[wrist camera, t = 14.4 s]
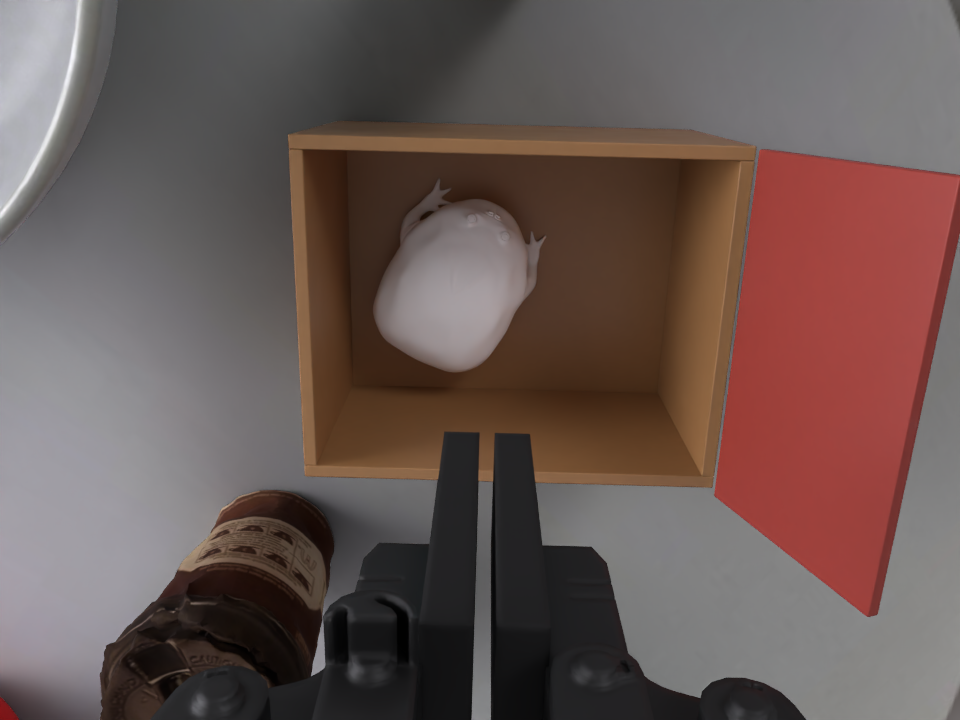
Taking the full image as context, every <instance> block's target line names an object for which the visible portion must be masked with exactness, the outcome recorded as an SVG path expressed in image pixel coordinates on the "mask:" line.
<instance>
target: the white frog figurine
mask: <svg viewBox="0 0 960 720" xmlns="http://www.w3.org/2000/svg"><path fill="white" fill-rule="evenodd" d="M450 190H451V188H449V189H446V190H440V178H439V179H438V181H437V183H436V185H435V187H434V189H433V191H432V192H431V193H430V194H428V195H427V196H426V197H425V198H424V199H423V200H422V201H421V202H420V203H419V204H418V205H417V206H416V207H414V208H413V209H412V210H411V211H410V212H408V213H407V215H406V216H405V217H404V219H403V222H402V226H401V231H400V247H399V249H398V250H397V252H396V254H395V255H394V257H393V258H392V260H391V262H390V263H389V265H388V267H387V269H386V271H385V273H384V275H383V277H382V280H381V282H380V285H379V288H378V291H377V294H376V297H375V300H374V305H373V315H374V319H375V322H376V325H377V327H378V330H379V332H380V333H381V335H382V336H383V338H384V339H385V340H386V341H387V342H389V343H390V344H391V345H393V346H394V347H396V348H398V349H399V350H401V351H402V352H404V353H406V354H407V355H409V356H411V357H412V358H414V359H416V360H418V361H420V362H423V363H425V364H428V365H430V366H433V367H435V368H438V369H441V370H444V371H447V372H464V371H468V370H471V369H473V368H475V367H477V366H479V365H481V364H482V363H483V362H484V361H485V360H486V359H487V358H488V357H489V356H490V355H491V353H492V352H493V351H494V349H495V348H496V346H497V345H498V344H499V342H500V341H501V339H502V338H503V336H504V335H505V333H506V331H507V329H508V327H509V325H510V323H511V321H512V318H513V316H514V314H515V312H516V311H517V309H518V308H519V306H520V305H521V303H522V302H523V301H524V300H525V299H526V298H527V297H528V295H529V294H530V293H531V292H532V291H533V289H534V287H535V285H536V281H537V263H538V260H539V250H540V247H541V245H542V243H543V242H544V240H545V238H546V235H545V236H544V237H543V238H542V239H540V240H539V241H535V239H534V235H533V232H531V236H530V244H529V245H528V244H526V243H525V241H524V239H523V236H522V233H521V231H520V228H519V226H518V224H517V222H516V221H515V219H514V218H513V217H512V215H511V214H510V213H509V212H507V211H506V210H505V209H503V208H502V207H500V206H498V205H497V204H494V203H492V202H490V201H487V200H482V199H469V200H464V201H458V202H454V203H451V202H448V201H445V200H443V199H442V197H443V195H445V194H446V193H447V192H449V191H450ZM438 205H445V206H443V207H441V208H439V207H438ZM427 211H434V213H432V214H431V215H430V216H428V217H427V218H426V219H423V220H420V218H421V216H422V215H423V214H424V213H426V212H427Z"/></svg>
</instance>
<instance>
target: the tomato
mask: <svg viewBox="0 0 960 720" xmlns="http://www.w3.org/2000/svg"><path fill="white" fill-rule="evenodd" d="M0 720H19V718H18V717H17V715H16V714H15V713H14V711H13V710H12V708H11V707H10V706H9V705H8V704H7V703H6V702H5V701H4V700H3V699H2V698H1V697H0Z"/></svg>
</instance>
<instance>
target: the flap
mask: <svg viewBox="0 0 960 720" xmlns="http://www.w3.org/2000/svg"><path fill="white" fill-rule="evenodd" d="M959 234H960V175H956V174H949V173H941V172H934V171H926V170H919V169H911V168H904V167H896V166H889V165H881V164H874V163H866V162H859V161H851V160H844V159H836V158H829V157H821V156H814V155H806V154H799V153H791V152H784V151H776V150H769V149H762V150H760V151H759V158H758V166H757V174H756V181H755V189H754V196H753V204H752V212H751V219H750V227H749V235H748V242H747V250H746V257H745V265H744V273H743V280H742V288H741V296H740V303H739V311H738V318H737V326H736V334H735V341H734V349H733V356H732V364H731V372H730V379H729V387H728V395H727V402H726V410H725V417H724V425H723V433H722V440H721V448H720V455H719V463H718V471H717V478H716V486H715V494H714V496H715V497H716V498H718V499H719V500H720V501H721V502H723V503H724V504H725V505H726V506H728V507H729V508H730V509H731V510H733V511H734V512H735V513H737V514H738V515H739V516H740V517H742V518H743V519H744V520H745V521H747V522H748V523H749V524H750V525H752V526H753V527H754V528H755V529H757V530H758V531H759V532H761V533H762V534H763V535H764V536H766V537H767V538H768V539H769V540H771V541H772V542H773V543H774V544H776V545H777V546H778V547H780V548H781V549H782V550H783V551H785V552H786V553H787V554H788V555H790V556H791V557H792V558H793V559H795V560H796V561H797V562H798V563H800V564H801V565H802V566H804V567H805V568H806V569H807V570H809V571H810V572H811V573H812V574H814V575H815V576H816V577H817V578H819V579H820V580H821V581H823V582H824V583H825V584H826V585H828V586H829V587H830V588H831V589H833V590H834V591H835V592H836V593H838V594H839V595H840V596H841V597H843V598H844V599H845V600H847V601H848V602H849V603H850V604H852V605H853V606H854V607H855V608H857V609H858V610H859V611H860V612H862V613H863V614H864V615H866V616H867V617H871V616H875V615H877V614H878V610H879V605H880V601H881V596H882V592H883V587H884V582H885V578H886V573H887V568H888V564H889V559H890V554H891V550H892V545H893V540H894V536H895V531H896V527H897V522H898V517H899V513H900V508H901V503H902V499H903V494H904V489H905V485H906V480H907V475H908V471H909V466H910V462H911V457H912V452H913V448H914V443H915V438H916V434H917V429H918V424H919V420H920V415H921V410H922V406H923V401H924V397H925V392H926V387H927V383H928V378H929V373H930V369H931V364H932V359H933V355H934V350H935V345H936V341H937V336H938V331H939V327H940V322H941V318H942V313H943V308H944V304H945V299H946V294H947V290H948V285H949V280H950V276H951V271H952V266H953V262H954V257H955V253H956V248H957V243H958V239H959Z"/></svg>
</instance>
